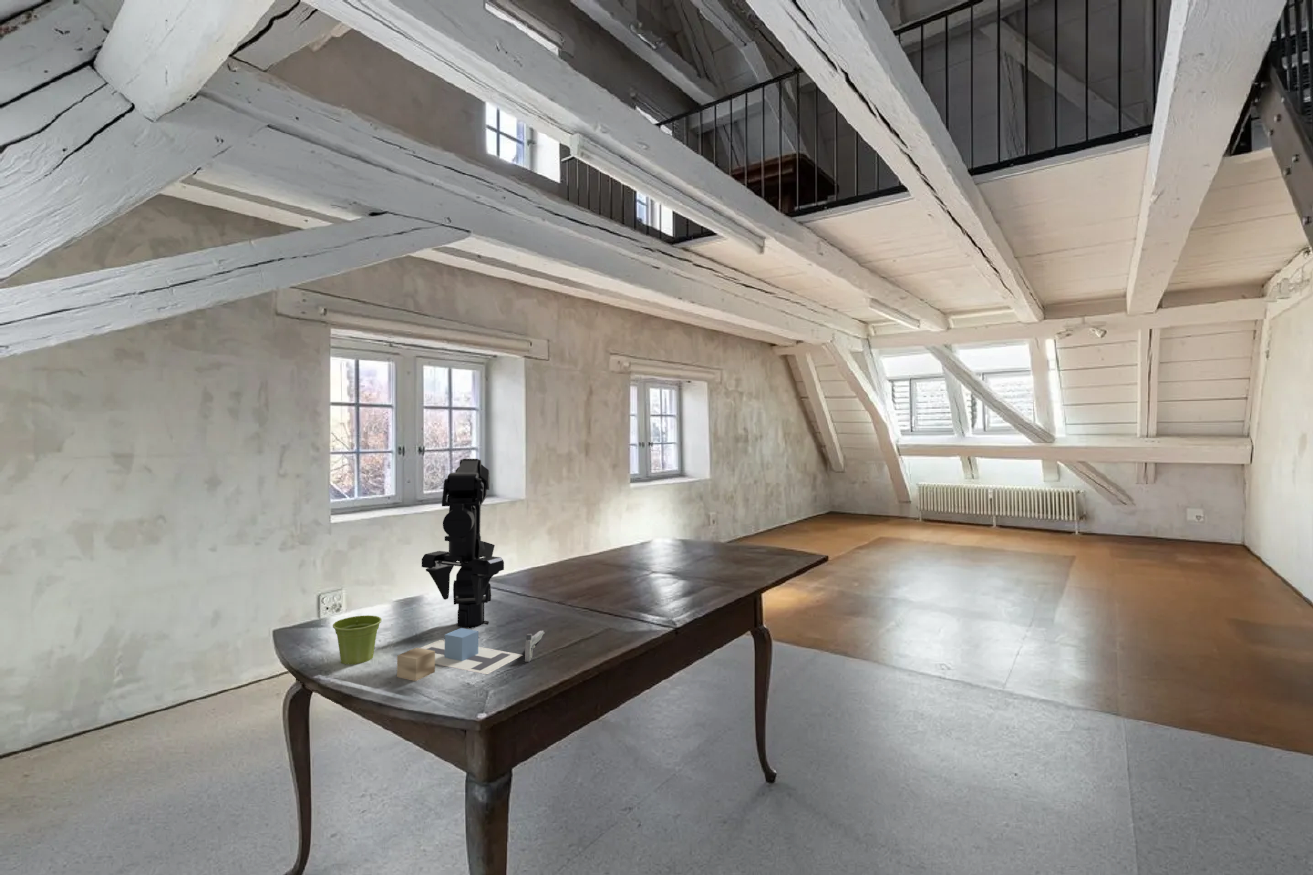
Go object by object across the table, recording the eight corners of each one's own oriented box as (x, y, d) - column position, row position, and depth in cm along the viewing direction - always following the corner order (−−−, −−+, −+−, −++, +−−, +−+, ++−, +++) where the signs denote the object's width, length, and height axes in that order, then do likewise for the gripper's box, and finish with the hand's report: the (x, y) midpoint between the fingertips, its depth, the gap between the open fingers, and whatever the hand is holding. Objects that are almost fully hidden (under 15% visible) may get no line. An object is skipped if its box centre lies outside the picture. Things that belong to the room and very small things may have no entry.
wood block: (416, 671, 123) (416, 647, 123) (434, 675, 121) (434, 650, 121) (397, 680, 119) (397, 655, 119) (416, 684, 117) (416, 659, 117)
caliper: (530, 665, 127) (530, 636, 127) (525, 665, 127) (525, 636, 127) (544, 634, 147) (544, 609, 147) (540, 634, 147) (540, 609, 147)
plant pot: (387, 662, 128) (388, 621, 128) (340, 673, 121) (340, 631, 121) (372, 651, 135) (372, 612, 135) (326, 661, 128) (326, 621, 128)
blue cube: (461, 650, 134) (461, 627, 134) (478, 653, 132) (478, 631, 132) (444, 657, 129) (444, 634, 129) (462, 661, 127) (462, 637, 127)
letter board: (440, 642, 141) (440, 639, 141) (523, 657, 131) (523, 654, 131) (399, 658, 130) (399, 656, 130) (486, 677, 120) (486, 674, 120)
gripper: (519, 528, 134) (519, 597, 134) (455, 523, 142) (455, 588, 142) (486, 535, 124) (486, 610, 124) (419, 529, 132) (419, 600, 131)
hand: (462, 601), depth 130 cm, fingers open, 9 cm apart
